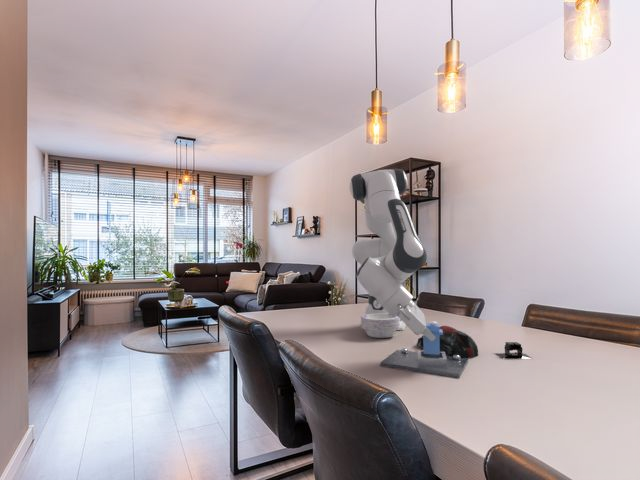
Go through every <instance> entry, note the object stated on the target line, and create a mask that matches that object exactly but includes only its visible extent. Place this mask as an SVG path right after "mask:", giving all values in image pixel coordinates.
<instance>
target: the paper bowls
mask: <svg viewBox="0 0 640 480" xmlns="http://www.w3.org/2000/svg"><path fill="white" fill-rule="evenodd" d="M360 325H361V326H360V328H361V329H362V330H363V331H365V333H366V335H367V336H368V337H370V338H376V339H389V338H392V337H393V336H394V335H395V333H396V331H399V330H398V329H400V318H399V317H398V316H397V315H395V316H394V317H392V316H391V315H390V314H387V313H374V314H366V315H365V314H363V315H361V316H360Z"/></svg>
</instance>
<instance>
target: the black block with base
mask: <svg viewBox="0 0 640 480" xmlns="http://www.w3.org/2000/svg"><path fill="white" fill-rule="evenodd" d="M513 351H515V352H513ZM516 351H517V352H516ZM493 354H494V355H496V356H498V357H499V358H500V359H521V360H522V359H525V360H526V359H530V360H531V359H533V357H531V356H529V355H528V354H527V353H523V347H522V344H521V343H519V342H516V341H505V345H504V352H503V353H499V352H498V353H493Z"/></svg>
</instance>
